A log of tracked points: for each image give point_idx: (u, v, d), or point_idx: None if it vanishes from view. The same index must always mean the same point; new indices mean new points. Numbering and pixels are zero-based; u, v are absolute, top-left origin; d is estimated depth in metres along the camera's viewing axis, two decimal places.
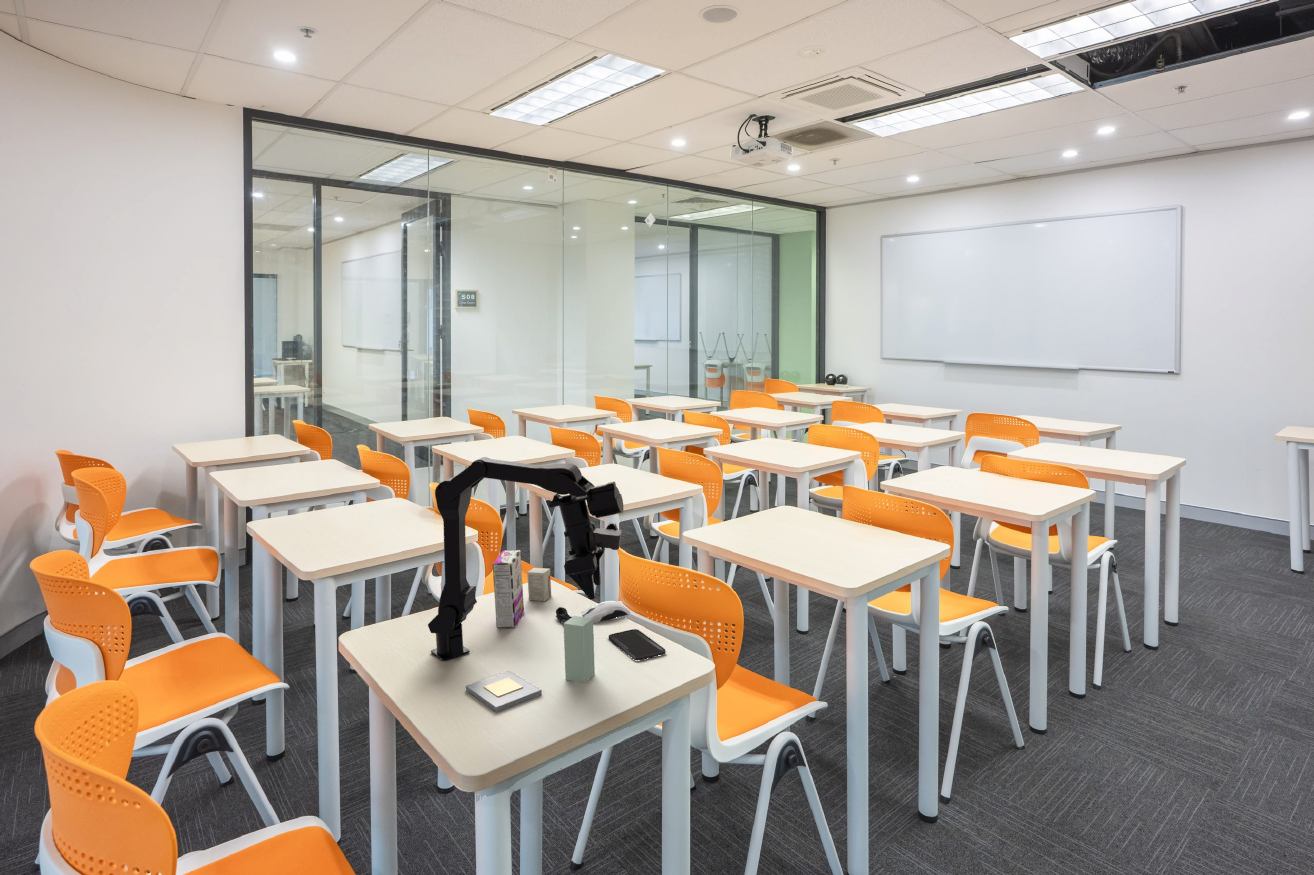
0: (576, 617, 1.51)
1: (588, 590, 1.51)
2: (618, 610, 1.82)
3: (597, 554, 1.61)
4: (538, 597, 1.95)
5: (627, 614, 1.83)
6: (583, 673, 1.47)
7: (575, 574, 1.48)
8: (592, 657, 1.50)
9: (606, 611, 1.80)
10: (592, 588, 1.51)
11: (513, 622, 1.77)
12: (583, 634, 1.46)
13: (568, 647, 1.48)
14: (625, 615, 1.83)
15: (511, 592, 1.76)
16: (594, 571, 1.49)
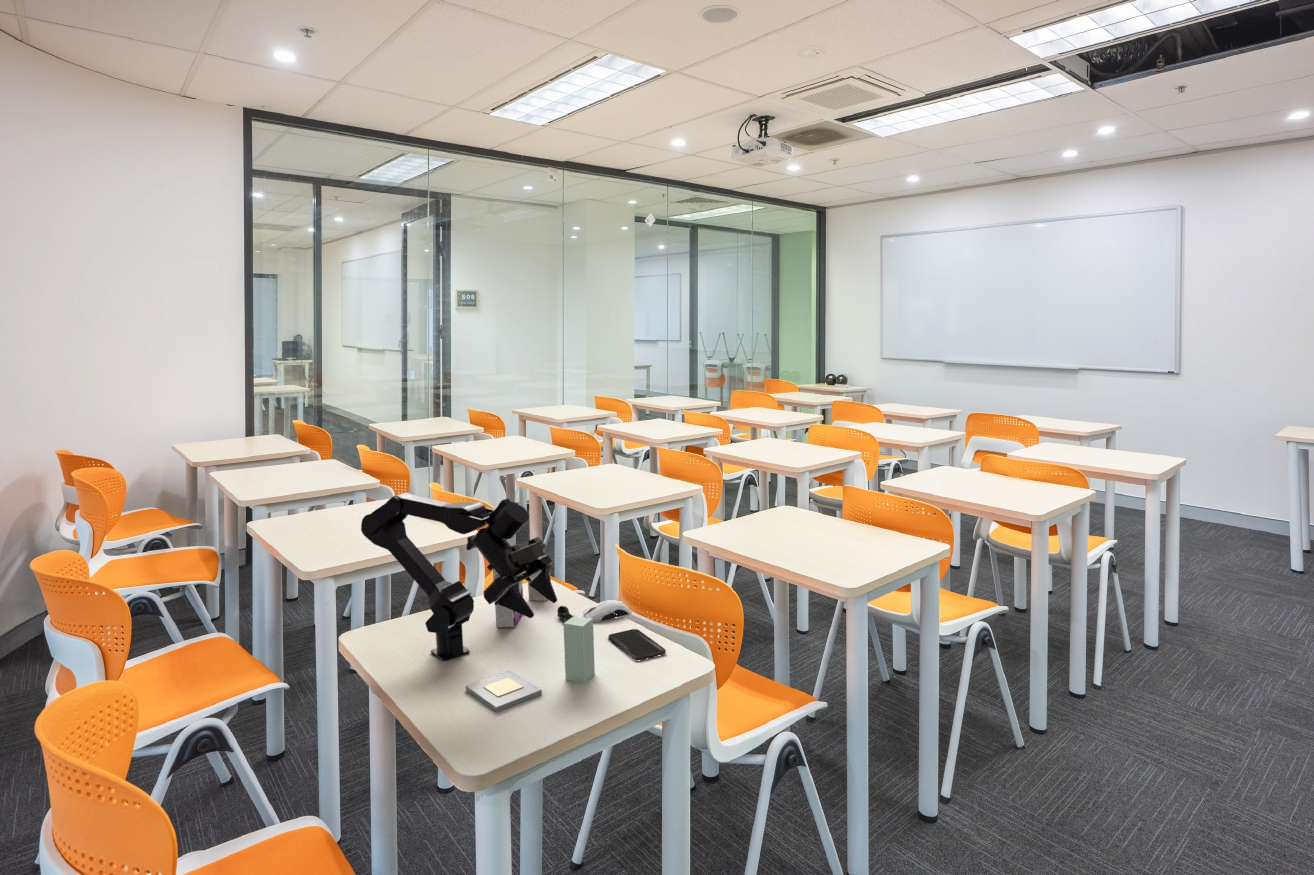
0: (576, 617, 1.51)
1: (523, 610, 1.47)
2: (619, 610, 1.82)
3: (541, 573, 1.57)
4: (538, 597, 1.95)
5: (628, 614, 1.84)
6: (583, 673, 1.47)
7: (498, 600, 1.46)
8: (592, 657, 1.50)
9: (607, 610, 1.81)
10: (525, 607, 1.47)
11: (513, 622, 1.77)
12: (583, 634, 1.46)
13: (568, 647, 1.48)
14: (626, 614, 1.83)
15: None
16: (513, 590, 1.46)
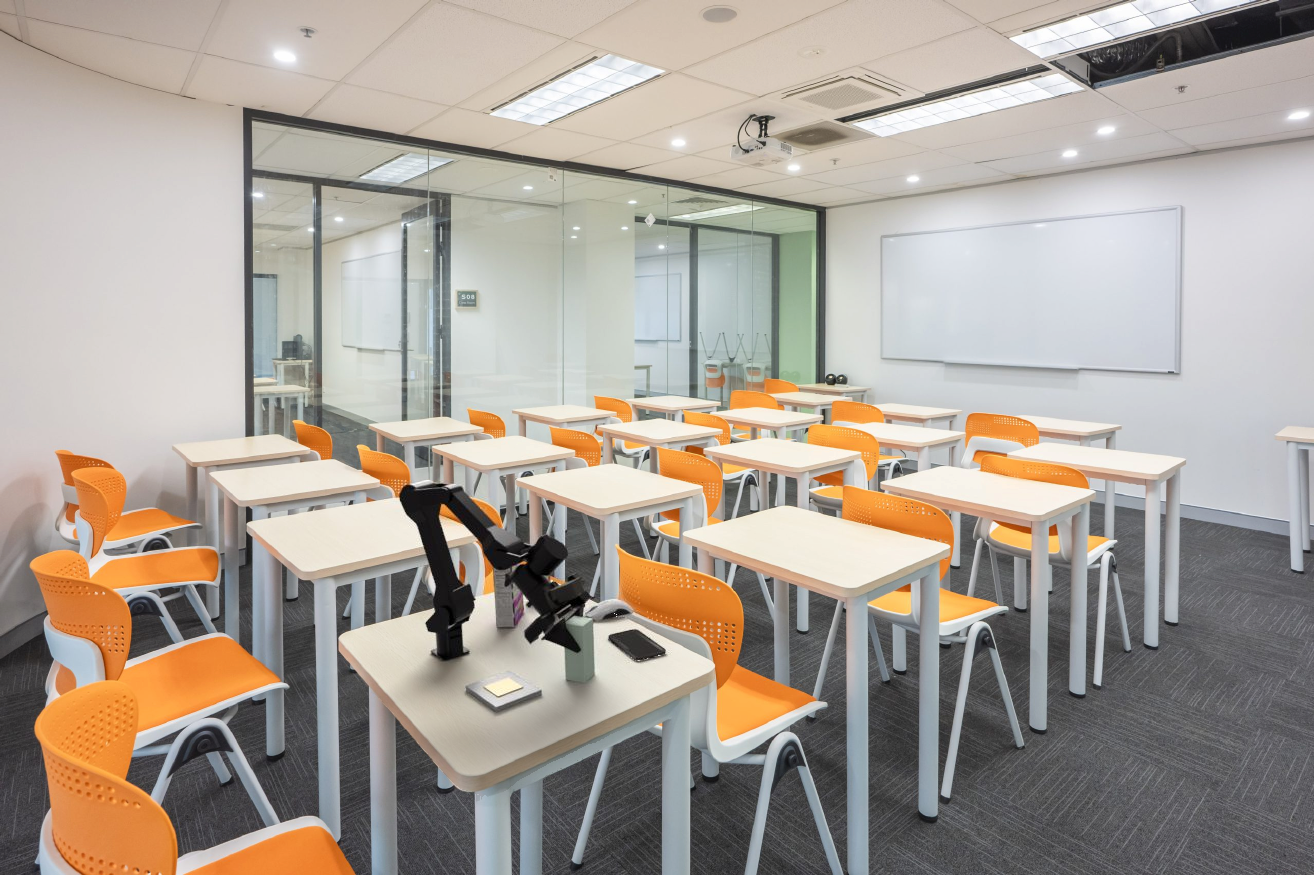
0: (576, 617, 1.51)
1: (570, 645, 1.46)
2: (620, 609, 1.83)
3: (575, 613, 1.52)
4: None
5: (630, 613, 1.84)
6: (583, 673, 1.47)
7: (545, 636, 1.45)
8: (592, 657, 1.50)
9: (609, 609, 1.81)
10: (571, 642, 1.46)
11: (513, 622, 1.77)
12: (583, 634, 1.46)
13: None
14: (628, 614, 1.84)
15: (511, 592, 1.76)
16: (560, 625, 1.45)
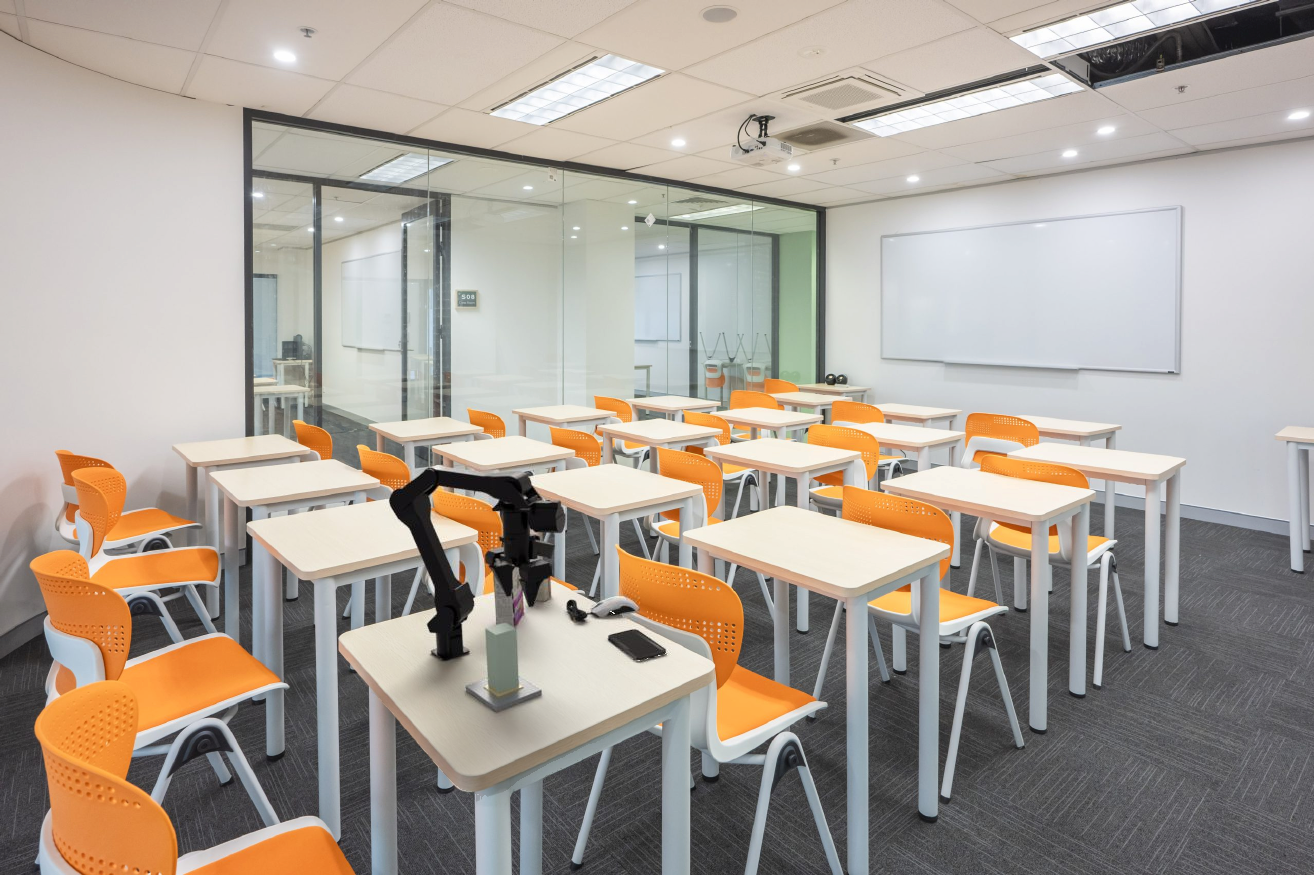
0: (505, 624, 1.44)
1: (531, 598, 1.53)
2: (625, 606, 1.85)
3: (512, 565, 1.62)
4: (538, 597, 1.95)
5: (635, 610, 1.86)
6: (497, 684, 1.41)
7: (533, 581, 1.50)
8: (514, 669, 1.42)
9: (613, 606, 1.84)
10: (535, 596, 1.54)
11: (513, 622, 1.77)
12: (497, 643, 1.40)
13: (488, 654, 1.42)
14: (633, 611, 1.85)
15: None
16: None
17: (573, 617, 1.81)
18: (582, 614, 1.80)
